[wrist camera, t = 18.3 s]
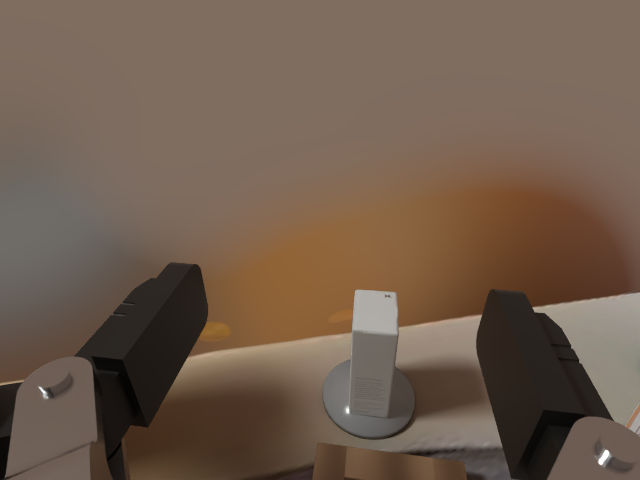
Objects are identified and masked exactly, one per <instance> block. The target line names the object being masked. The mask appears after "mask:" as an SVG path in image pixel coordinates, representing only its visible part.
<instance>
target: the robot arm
mask: <svg viewBox="0 0 640 480" xmlns="http://www.w3.org/2000/svg"><path fill="white" fill-rule="evenodd" d="M207 316H208V304H207V299H206V294H205V289H204V283H203V278H202V273H201V269H200V267H199V266H198V265H197V264H186V263H173V262H172V263H169V264H168V265H167V266H166V267H165V269H164V270H163V271H162V272H161V273H160V274H159V276H158V277H157V278H156V279H155V278H151V279H149V280H147V281H146V282H144V283H143V284H141V285H140V286H138V287H137V288H135V289H134V290H133V291H132V292H131V293H130V294H129V295H128V297H127V298H126V299H125V300H124V301H123V304H121V305H120V306H119V307H118V308H117V309H116V310H115V311H114V313H113V315H111V316H110V317H109V318H108V319H107V320H106V321H105V322H104V324H103V325H102V326H101V327H100V328H99V329H98V330H97V331H96V333H95V334H94V335H93V336H92V337H91V338H90V339H89V340H88V341H87V343H86V344H85V345H84V346H83V347H82V348H81V349H80V351H79V352H78V353H77V354H76V355H75V356H74V357H66V358H61V359H57V360H55V361H52V362H50V363H47V364H45V365H43V366H42V367H40V368H39V369H37V370H36V371H34V372H33V373H32V374H31V375H29V376H28V377H27V378H26V379H25V380H24V381H23V382H20V383H14V384H7V385H1V386H0V480H130V473H129V466H128V458H127V451H126V443H125V440H124V435H125V433H126V432H127V430H128V428H129V427H130V425H134V426H142V427H149V425H150V423H151V421H152V420H153V418H154V416H155V414H156V412H157V411H158V409H159V407H160V405H161V403H162V402H163V400H164V398H165V396H166V395H167V393H168V391H169V389H170V387H171V386H172V384H173V382H174V380H175V379H176V377H177V375H178V373H179V371H180V370H181V368H182V366H183V364H184V362H185V361H186V359H187V357H188V355H189V354H190V352H191V350H192V348H193V346H194V345H195V343H196V341H197V339H198V337H199V336H200V334H201V332H202V330H203V329H204V327H205V324H206V321H207ZM476 349H477V355H478V359H479V363H480V367H481V370H482V374H483V377H484V381H485V385H486V388H487V392H488V396H489V399H490V403H491V406H492V410H493V414H494V417H495V421H496V425H497V428H498V432H499V435H500V439H501V443H502V446H503V450H504V454H505V457H506V461H507V464H508V468H509V472H510V475H511V478H512V479H519V480H640V436H638V435H637V434H636V433H634V432H633V431H632V430H630V429H628V428H627V427H625V426H623V425H621V424H619V423H617V422H614V420H613V419H612V417H611V415H610V413H609V412H608V410H607V408H606V406H605V405H604V403H603V401H602V399H601V398H600V396H599V394H598V392H597V390H596V389H595V387H594V385H593V383H592V382H591V380H590V378H589V376H588V374H587V373H586V371H585V369H584V367H583V366H582V364H580V363H579V358H578V357H577V355H576V353H575V351H574V350H573V349H571V344H570V343H569V341H568V339H567V337H566V335H565V334H564V332H563V330H562V328H560V327H559V326H558V325H557V324H556V323H555V322H554V321H553V320H552V319H550V318H549V317H548V316H547V315H546V314H545V313H535V312H534V310H533V308H532V306H531V304H530V303H529V300H528V299H527V297H526V295H525V293H523V292H519V291H508V290H495V289H492V290H491V291H490V292H489V294H488V297H487V301H486V304H485V307H484V311H483V314H482V318H481V321H480V325H479V328H478V332H477V339H476Z"/></svg>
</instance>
